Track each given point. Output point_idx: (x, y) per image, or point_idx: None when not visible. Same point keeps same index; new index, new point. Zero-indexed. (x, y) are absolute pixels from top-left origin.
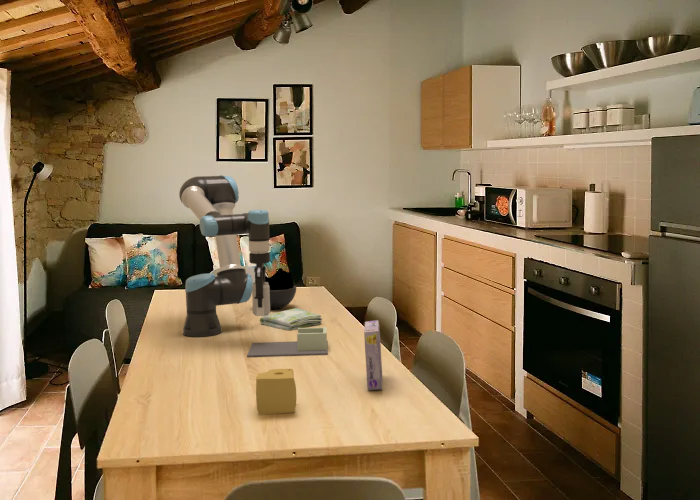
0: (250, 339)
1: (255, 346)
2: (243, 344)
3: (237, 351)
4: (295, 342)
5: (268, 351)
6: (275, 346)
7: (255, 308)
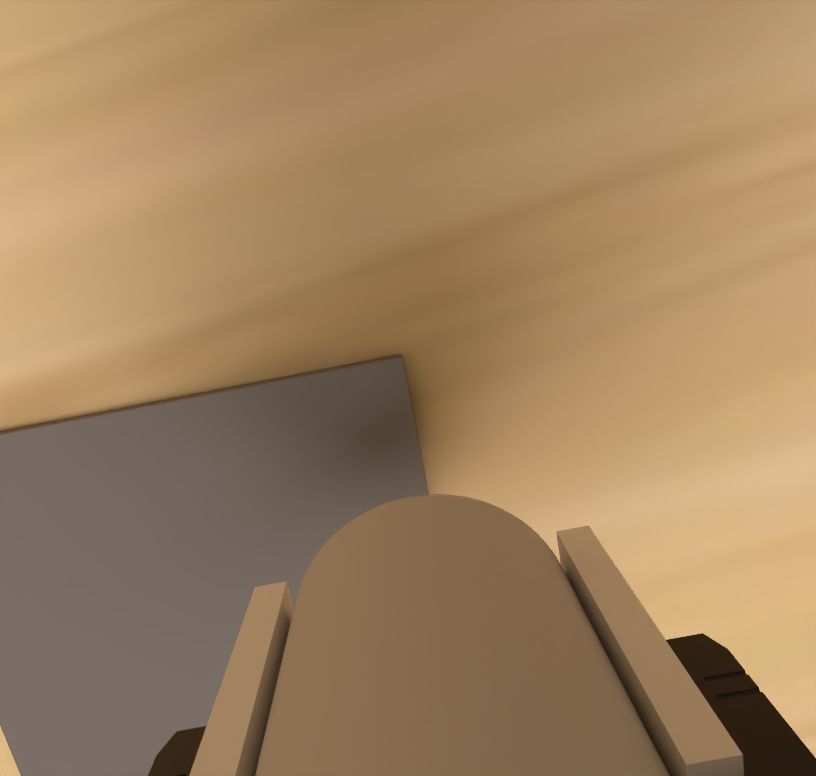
0: (612, 275)
1: (250, 431)
2: (396, 268)
3: (103, 296)
4: None
5: (78, 591)
6: None
7: (293, 626)
